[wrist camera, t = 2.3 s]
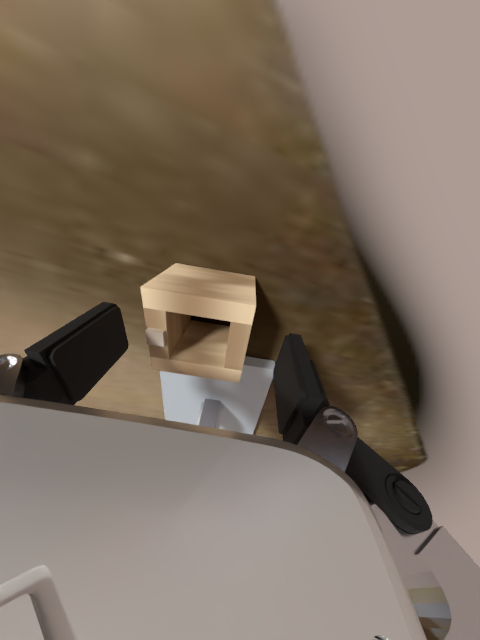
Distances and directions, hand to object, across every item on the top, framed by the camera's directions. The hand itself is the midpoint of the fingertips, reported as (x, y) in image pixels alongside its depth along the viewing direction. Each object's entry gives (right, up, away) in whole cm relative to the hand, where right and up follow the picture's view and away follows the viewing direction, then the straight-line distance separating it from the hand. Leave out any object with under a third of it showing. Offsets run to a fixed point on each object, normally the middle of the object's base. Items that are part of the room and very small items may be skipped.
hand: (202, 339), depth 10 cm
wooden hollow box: (0, +2, +5) cm, 5 cm away
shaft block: (-1, -8, +11) cm, 14 cm away
